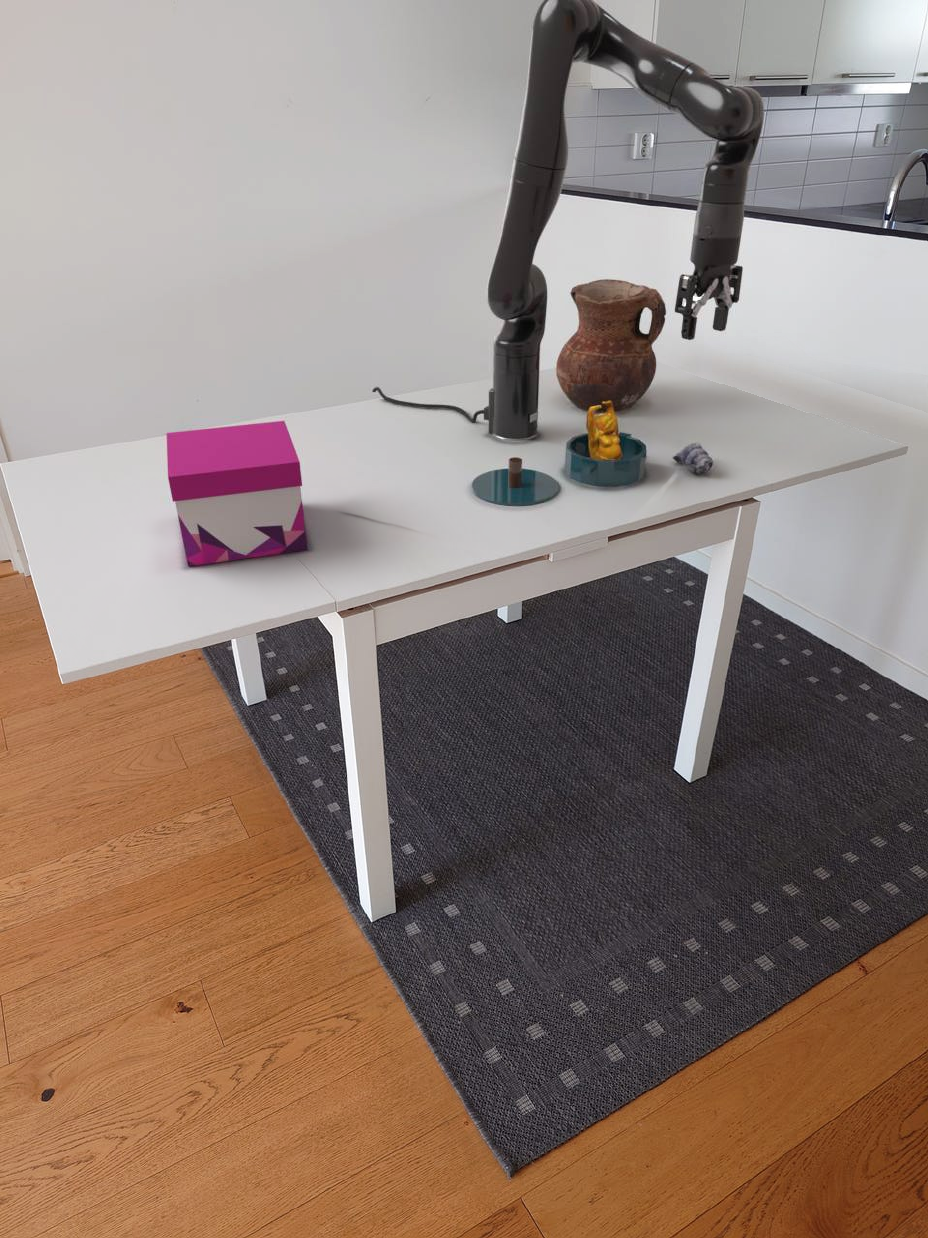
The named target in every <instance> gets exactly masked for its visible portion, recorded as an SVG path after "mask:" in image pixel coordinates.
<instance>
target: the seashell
mask: <svg viewBox="0 0 928 1238" xmlns="http://www.w3.org/2000/svg"><path fill="white" fill-rule="evenodd" d="M672 460H674V462H676V463H678V464H680V463H681V464H683V466H684V467H685V468H686V469H687V470H688V471H689V472H692V473H693V474H704V473H706V472H709V471H710V470H711V469H712V467H713V465H714V461H713V459H712V457H711V456H709V453H708V452H707V450H705V449H704V448H703V446H702V445H701V443H699V442H692V443H690V444H687V445H686V446H685V447H683V448H682V449H680V450H679V451H678V452H676V453H675V455H673V456H672Z"/></svg>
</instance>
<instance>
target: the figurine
mask: <svg viewBox="0 0 928 1238" xmlns="http://www.w3.org/2000/svg"><path fill="white" fill-rule="evenodd" d="M602 405H604V406H607V411H606V412H601V413H599V414H597V415H596V416H595V412H597V411H596V410H598V409H600V408H601V405H597V406H591V407H590V408H589V410H587V413H586V421H585V427H586V433H588V439H589V442H588V444H589V452H590V456H591V458H594V459H599V460H619V459H621V457H622V451H621V447H620V445H619V442H620V439H619V433H620V431H619V420H618V417H617V415H616V411H614V408H613V403H612V401H607V402H602Z"/></svg>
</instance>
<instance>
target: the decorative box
mask: <svg viewBox="0 0 928 1238" xmlns="http://www.w3.org/2000/svg"><path fill="white" fill-rule="evenodd" d="M166 456H167V459H166V460H167V461H166V462H167V480H168V485H169V490H170V494H171V499H172V502H173V503H174V504H175V508H176V514H177V518H178V523H179V528H180V534H181V538H182V543H183V548H184V553H185V557H186V558H185V559H186V564H187V567H194V566H201V565H209V564H215V563H223V562H230V561H238V560H244V559H249V558H250V559H251V558H259V557H266V556H273V555H279V554H288V553H294V552H303V551H308V542H307V541H308V539H307V534H306V533H307V532H306V524H305V516H304V508H303V507H304V506H303V498H302V489H301V487H303V480H302V472H301V462H300V459H299V456H298V454H297V451H296V448H295V445H294V443H293V441H292V438H291V435H290V432H289V429H288V426H287V424H286V420H278V421H277V420H276V421H269V422H268V421H267V422H260V423H259V422H258V423H250V424H240V425H239V424H238V425H230V426H220V427H219V426H218V427H211V428H201V429H192V430H191V429H190V430H182V431H173V432H172V431H171V432H166Z"/></svg>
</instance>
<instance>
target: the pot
mask: <svg viewBox="0 0 928 1238" xmlns="http://www.w3.org/2000/svg"><path fill="white" fill-rule="evenodd" d="M618 434H619V439H620V442H619V445H620V447H621V451H622V457H621V459H619V460H599V459H594V458H591V456H590V452H589V444H588V442H589V439H588V432H586V433H582V434H578V435H575V436H573V437H571V438H569V440H567V441H566V444H565V460H564V473H565V475H566V476H567V477H568V478H569V479H571V480H573V481H575V482H577V483H579V484H582V485H583V484H584V485H587V486H593V487H600V488H602V487H603V488H605V487H606V488H617V487H624V486H630V485H632V484H634V483H638V482H639V481H640V480H642V479H643V478H644V477H645V471H646V470H645V469H646V462H647V461H646V460H647V451H648V450H647V445H646V444H645V443H644V442H643V441H642V440H641V439H639V438H636V437H633V435H632V433H627V432H620V431H619V433H618Z"/></svg>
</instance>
